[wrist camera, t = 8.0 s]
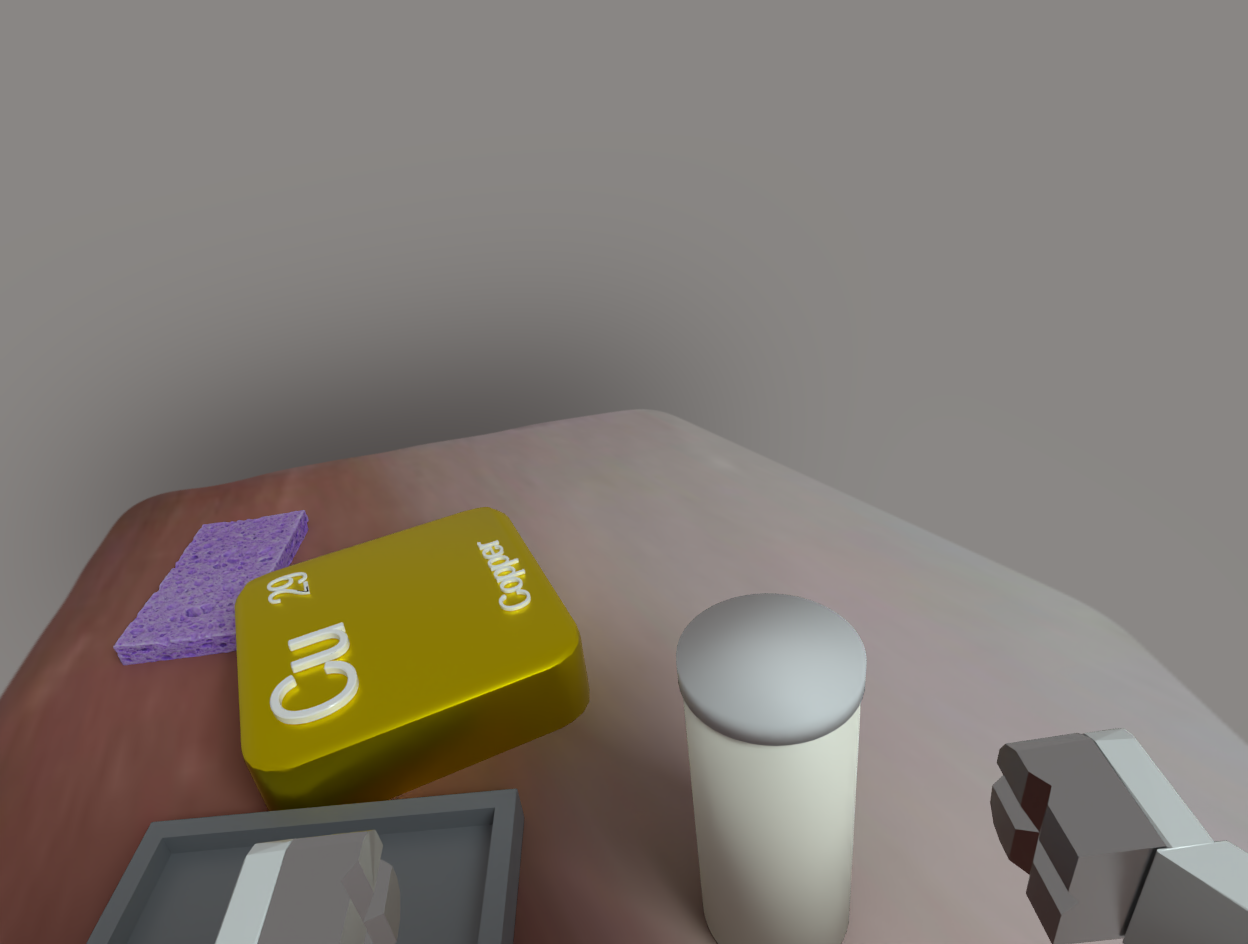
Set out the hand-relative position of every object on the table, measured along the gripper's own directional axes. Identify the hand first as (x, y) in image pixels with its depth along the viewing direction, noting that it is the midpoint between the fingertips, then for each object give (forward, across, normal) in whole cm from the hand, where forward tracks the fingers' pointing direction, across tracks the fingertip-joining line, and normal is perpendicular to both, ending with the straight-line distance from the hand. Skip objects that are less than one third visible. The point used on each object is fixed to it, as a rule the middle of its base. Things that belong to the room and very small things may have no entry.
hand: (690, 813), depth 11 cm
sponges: (+34, -25, -21) cm, 47 cm away
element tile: (+25, -12, -21) cm, 35 cm away
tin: (+10, +3, -20) cm, 23 cm away
